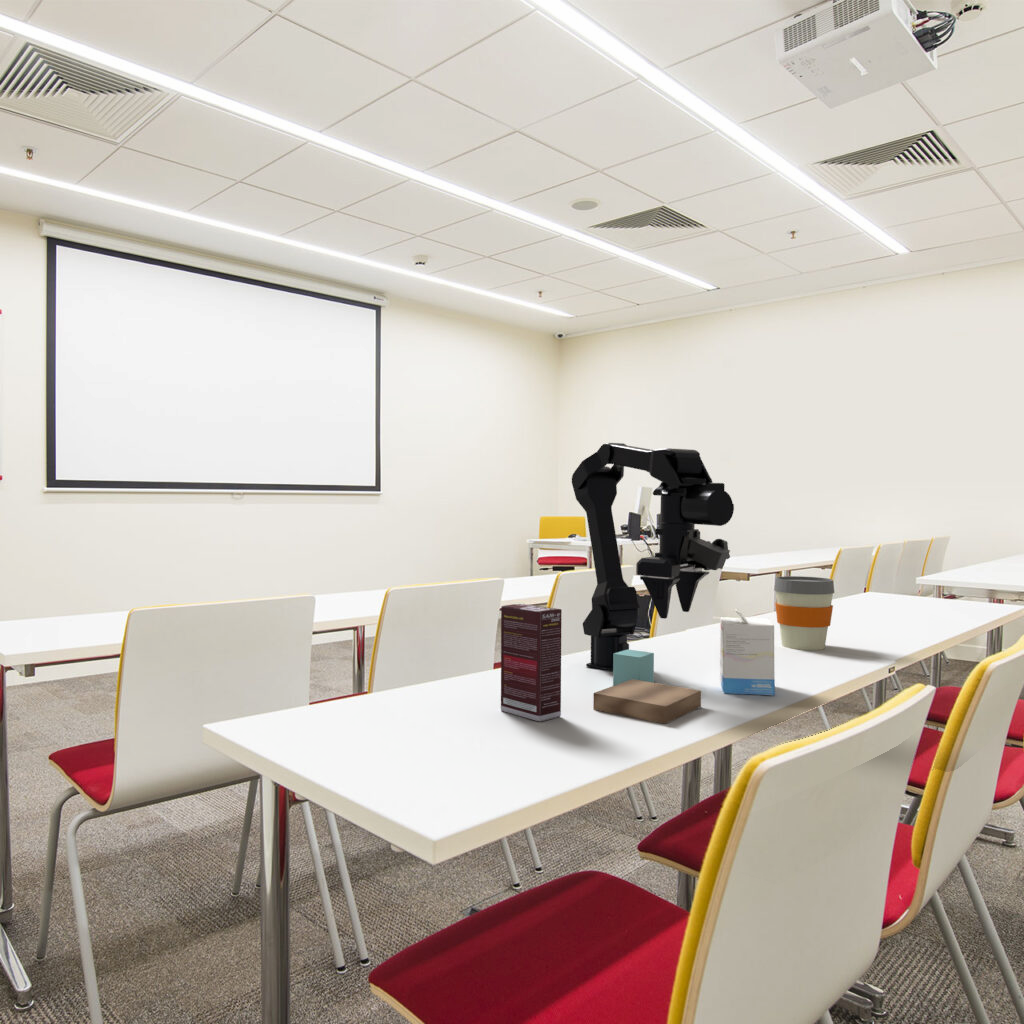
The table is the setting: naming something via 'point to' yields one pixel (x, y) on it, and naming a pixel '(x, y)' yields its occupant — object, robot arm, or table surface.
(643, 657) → the block
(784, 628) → the reusable coffee cup
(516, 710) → the supplement box
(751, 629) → the ink box
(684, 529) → the robot arm
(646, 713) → the base
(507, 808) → the table surface
